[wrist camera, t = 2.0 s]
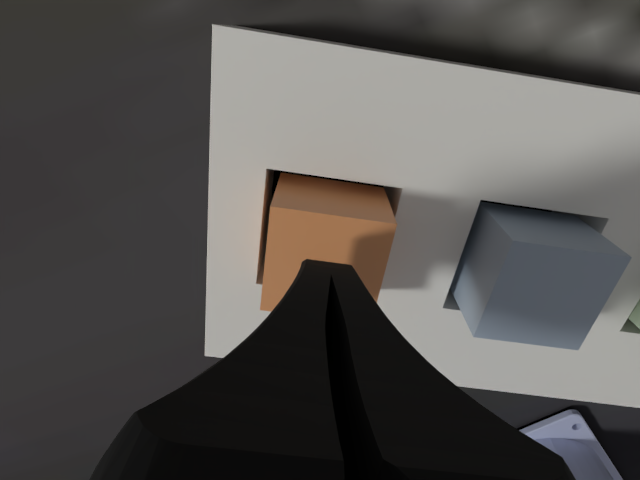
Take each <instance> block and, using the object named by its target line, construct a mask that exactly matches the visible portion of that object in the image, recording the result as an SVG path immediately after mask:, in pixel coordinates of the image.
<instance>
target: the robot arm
mask: <svg viewBox="0 0 640 480" xmlns="http://www.w3.org/2000/svg"><path fill="white" fill-rule="evenodd" d="M90 480H623V479H622V477H621V476H620V474H619V473H618V471H617V470H616V468H615V466H614V465H613V463H612V462H611V460H610V459H609V457H608V456H607V454H606V453H605V451H604V449H603V448H602V446H601V445H600V443H599V442H598V440H597V439H596V437H595V436H594V434H593V433H592V431H591V429H590V428H589V426H588V425H587V423H586V422H585V420H584V419H583V417H582V416H581V414H580V413H579V412H578V411H577V410H574V409H570V410H566V411H564V412H561V413H559V414H557V415H554V416H552V417H549V418H547V419H545V420H542V421H540V422H537V423H535V424H533V425H530V426H528V427H525V428H523V429H521V430H517V429H516V428H514V427H512V426H511V425H509V424H508V423H506V422H505V421H503V420H502V419H500V418H499V417H498V416H496V415H495V414H493V413H492V412H490V411H489V410H488V409H486V408H485V407H483V406H482V405H481V404H479V403H478V402H476V401H475V400H474V399H472V398H471V397H470V396H469V395H467V394H466V393H465V392H463V391H462V390H461V389H459V388H458V387H457V386H456V385H455V384H453V383H452V382H451V381H450V380H449V379H447V378H446V377H445V376H444V375H443V374H441V373H440V372H439V371H438V370H437V369H436V368H435V367H434V366H432V365H431V364H430V363H429V362H428V361H427V360H426V359H425V358H424V357H423V356H422V355H421V354H420V353H419V352H418V351H417V350H416V349H415V348H414V347H413V346H412V345H411V344H410V343H409V342H408V341H407V340H406V339H405V338H404V337H403V336H402V334H401V333H400V332H399V331H398V330H397V329H396V327H395V326H394V325H393V324H392V323H391V321H390V320H389V319H388V318H387V316H386V315H385V314H384V312H383V311H382V310H381V308H380V307H379V305H378V304H377V303H376V301H375V300H374V299H373V297H372V296H371V294H370V293H369V291H368V290H367V288H366V287H365V285H364V283H363V282H362V280H361V279H360V277H359V276H358V274H357V272H356V271H355V269H354V268H353V266H352V265H349V264H341V263H333V262H326V261H318V260H311V259H306V260H304V261H302V263H301V267H300V270H299V272H298V274H297V276H296V278H295V279H294V281H293V283H292V285H291V286H290V287H289V289H288V290H287V292H286V293H285V295H284V296H283V298H282V299H281V300H280V302H279V303H278V304H277V305H276V307H275V308H274V309H273V310H272V312H271V313H270V314H269V315H268V316H267V318H266V319H265V320H264V321H263V322H262V323H261V324H260V325H259V326H258V327H257V328H256V329H255V330H254V331H253V332H252V333H251V334H250V335H249V336H248V337H247V338H246V339H245V340H244V341H243V342H241V343H240V344H239V345H238V346H237V347H236V348H234V349H233V350H232V351H231V352H230V353H229V354H227V355H226V356H225V357H224V358H222V359H221V360H220V361H218V362H217V363H216V364H214V365H213V366H211V367H210V368H209V369H207V370H206V371H204V372H203V373H201V374H200V375H198V376H197V377H195V378H194V379H193V380H191V381H190V382H188V383H187V384H185V385H183V386H182V387H180V388H179V389H177V390H175V391H173V392H172V393H170V394H168V395H166V396H164V397H163V398H161V399H159V400H157V401H155V402H154V403H152V404H150V405H148V406H146V407H144V408H142V409H140V410H138V411H136V412H135V413H133V415H132V416H131V417H130V419H129V420H128V421H127V422H126V424H125V425H124V427H123V428H122V429H121V431H120V432H119V433H118V435H117V436H116V438H115V439H114V441H113V442H112V443H111V445H110V446H109V448H108V449H107V451H106V452H105V454H104V455H103V457H102V458H101V460H100V462H99V463H98V465H97V466H96V468H95V470H94V472H93V474H92V476H91V478H90Z"/></svg>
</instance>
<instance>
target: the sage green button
mask: <svg viewBox="0 0 640 480" xmlns="http://www.w3.org/2000/svg"><path fill="white" fill-rule="evenodd" d="M628 319H629V320H631V321H632V322H633V323H634V324H635V325H636V326H637V327H638V328H639V329H640V299H639V301H638V302H637V304H636V306H635V307H634V309H633V311H632V312H631V314H630V315H629V317H628Z"/></svg>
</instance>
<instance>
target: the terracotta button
mask: <svg viewBox="0 0 640 480" xmlns="http://www.w3.org/2000/svg"><path fill="white" fill-rule="evenodd" d="M396 227H397V222H396V219H395V217H394V214H393V211H392V208H391V206H390V203H389V200H388V197H387V195H386V192H385V189H384V188H383V187H377V186H370V185H363V184H356V183H349V182H342V181H335V180H329V179H322V178H315V177H308V176H301V175H294V174H288V173H281V174H280V177H279V180H278V183H277V186H276V190H275V193H274V196H273V199H272V202H271V205H270V214H269V224H268V234H267V244H266V254H265V264H264V274H263V284H262V295H261V305H260V310H263V311H271V312H272V310H273V309H274V308H275V307H276V305H277V304H278V303H279V302H280V300H281V299H282V298H283V296H284V295H285V293H286V292H287V290H288V289H289V287H290V286H291V285H292V283H293V281H294V279H295V278H296V276H297V274H298V272H299V270H300V267H301V263H302V261H304V260H306V259H311V260H318V261H326V262H333V263H341V264H349V265H352V266H353V268H354V269H355V271H356V272H357V274H358V276H359V277H360V279H361V280H362V282H363V283H364V285H365V287H366V288H367V290H368V291H369V293H370V294H371V296H372V297H373V299H374V300H375V301H376V303H377V300H378V296H379V293H380V289H381V285H382V281H383V277H384V273H385V269H386V266H387V262H388V258H389V254H390V250H391V246H392V243H393V239H394V235H395V231H396Z"/></svg>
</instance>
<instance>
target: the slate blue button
mask: <svg viewBox="0 0 640 480" xmlns="http://www.w3.org/2000/svg"><path fill="white" fill-rule="evenodd" d="M631 258H632V257H631V256H629V255H628V254H627V253H625V252H624V251H623V250H621V249H620V248H619V247H617V246H616V245H615V244H613V243H612V242H611V241H609V240H608V239H607V238H605V237H604V236H603V235H601V234H600V233H599V232H597V231H596V230H595V229H593V228H592V227H591V226H589V225H588V224H587V223H585V222H584V221H583V220H581V219H580V218H579V217H577V216H575V215H568V214H561V213H555V212H548V211H541V210H534V209H527V208H520V207H513V206H507V205H500V204H493V203H486V202H480V204H479V206H478V209H477V212H476V215H475V218H474V221H473V223H472V226H471V229H470V232H469V235H468V237H467V240H466V243H465V246H464V249H463V252H462V254H461V257H460V260H459V263H458V266H457V269H456V271H455V274H454V277H453V280H452V283H451V285H450V289H451V291H452V294H453V296H454V298H455V300H456V302H457V304H458V306H459V308H460V310H461V312H462V314H463V317H464V319H465V321H466V323H467V325H468V327H469V329H470V331H471V333H472V335H473V337H476V338H484V339H492V340H500V341H508V342H516V343H524V344H531V345H539V346H547V347H555V348H563V349H571V350H579V348H580V347H581V345H582V343H583V341H584V340H585V338H586V336H587V334H588V333H589V331H590V329H591V328H592V326H593V324H594V322H595V321H596V319H597V317H598V315H599V314H600V312H601V310H602V309H603V307H604V305H605V303H606V302H607V300H608V298H609V296H610V295H611V293H612V291H613V290H614V288H615V286H616V284H617V283H618V281H619V279H620V277H621V276H622V274H623V272H624V270H625V269H626V267H627V265H628V264H629V262H630V260H631Z"/></svg>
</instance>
